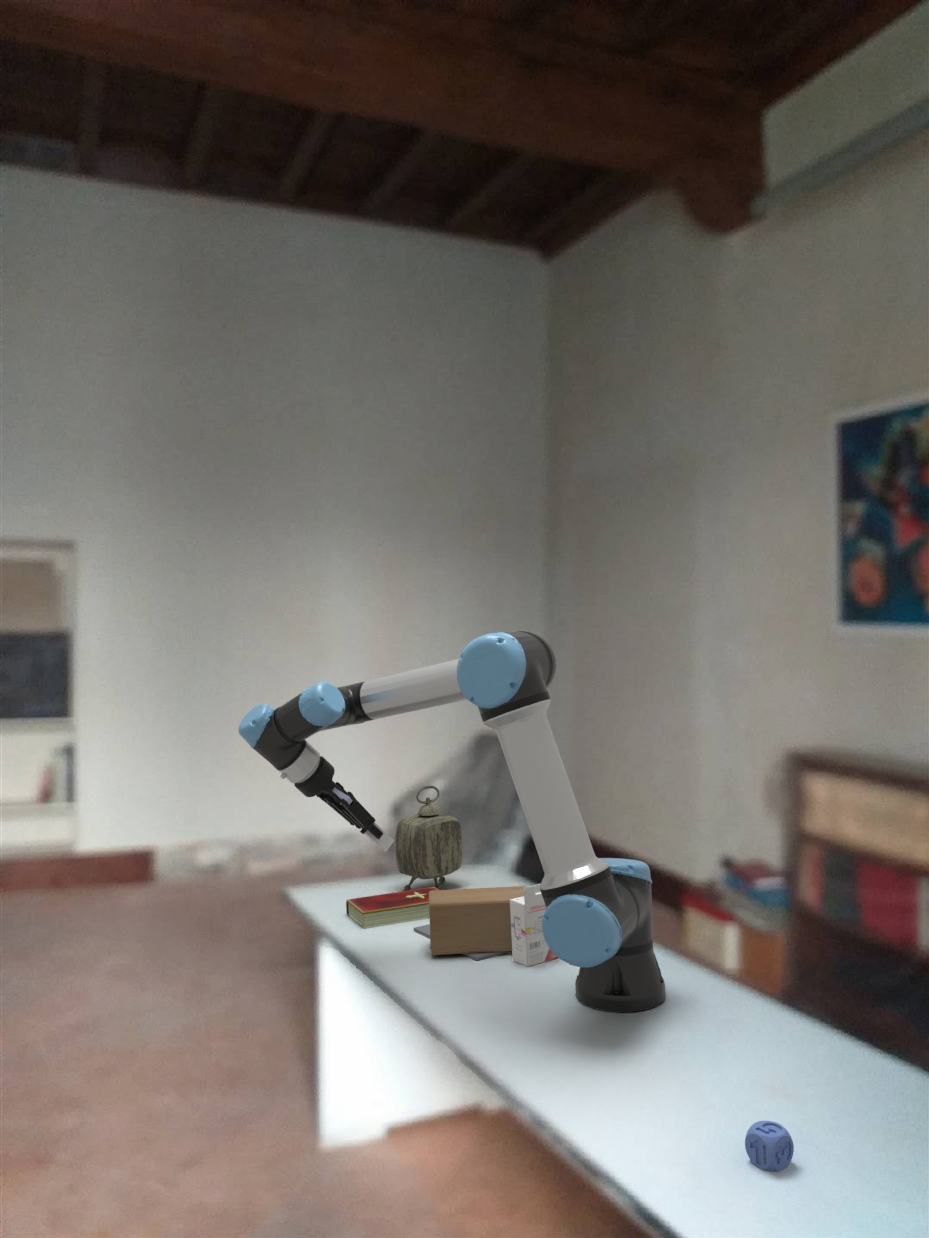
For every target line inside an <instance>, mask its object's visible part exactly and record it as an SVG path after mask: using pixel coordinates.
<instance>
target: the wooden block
mask: <svg viewBox="0 0 929 1238" xmlns="http://www.w3.org/2000/svg"><path fill="white" fill-rule="evenodd" d="M525 887H528V886H526V885H520V886H519V885H518V886H499V887H498V886H496V887H495V886H494V887H476V888H460V889H459V888H458V889H454V888H453V889H440V890H433V891H429V917H430V918H429V924H430V938H429V939H430V940H429V941H430V943H429V944H430V954H431V955H433V956H440V955H441V956H442V955H460V954H462V955H463V954H464V953H483V952H503V951H512V937H511V916H510V899H514V898H519V897H523V896H524V892H523V889H524V888H525Z"/></svg>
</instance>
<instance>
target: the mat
mask: <svg viewBox="0 0 929 1238" xmlns="http://www.w3.org/2000/svg"><path fill="white" fill-rule="evenodd" d="M413 931H414V932H416V933H418V934H420V935H422V936H424V937H427V938H428V939H430V923H429V924H425V925H424V924H423V925H419V926H416V927H415V926H414V927H413ZM509 953H512V951H503V952H483V953H464V954H462V955H463V956H466V957H468V958H470V959H472V960H474V961H476V962H477V961H481V960H482V961H483V960H486V959H490V958H493V957H498V956H502V955H505V954H509Z"/></svg>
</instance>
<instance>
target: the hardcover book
mask: <svg viewBox="0 0 929 1238" xmlns="http://www.w3.org/2000/svg"><path fill="white" fill-rule="evenodd" d="M433 890H439V889H437V888H436V887H434V886H429V887H423V888H415V889H411V890H408V891H405V890H403V891H396V892H389V893H382V894H375V895H370V896H369V895H367V896H362V897H356V898H347V899H346V902H345V909H346V915H347V914H349V915H350V916H351V919H353V920H354V921H355V920H356V921H357V922H358V925H360V926H361V927H362V928H364V929H368V928H370V929H371V928H375V927H381V926H388V925H394V924H395V925H396V924H400V923H407V922H413V921H418V920H424V919H430V917H429V891H433ZM349 915H348V916H349ZM350 916H349V917H350ZM356 921H355V922H356ZM357 922H356V923H357Z"/></svg>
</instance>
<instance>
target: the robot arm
mask: <svg viewBox="0 0 929 1238" xmlns="http://www.w3.org/2000/svg"><path fill="white" fill-rule="evenodd" d="M556 672H557V658H556V654H555V652H554V649H553V648H552V646H551V644H550V643H549V642H548V641H547V640H546V639H545V638H544V637H542V636H541V635H539V634H537V633H534V632H531V631H526V630H525V631H524V630H518V631H494V632H491V633H486V634H483V635H480V636H478V637H476V638H474V639H473V640H471V641H470V642H469V643H468V644H467V645H466V646H465V647H464V649H463V650H462V652H461V654H460V657H459V658H457V659H452V660H448V661H445V662H440V663H435V664H432V665H427V666H425V667H420V668H416V669H415V668H414V669H411V670H407V671H404V672H398V673H395V674H392V675H391V674H390V675H386V676H383V677H378V678H374V679H370V680H367V681H366V680H365V681H361V682H357V683H352V684H348V685H344V686H343V685H342V686H335V685H334V684H331V683H330V682H328V681H319V682H318V683H315V684H314V685H312V686H309V687H307V688H305V689H304V690H303V691H302V692H301V693H299V694H298V695H296V696H295V697H293V698H291V699H290V700H289V701H287V702H285V703H284V704H283V705H280V706H279V707H277V708H275V709H274V708H273V707H272V706H270V705H269V704H267V703H265V702H263V703H262V702H261V703H258V704H257V705H255V706H254V707H252V708H251V709H250V710H249V711H248V712H247V713H246V714H245V715H244V716H243V718H242V719H241V720H240V723H239V725H238V734H239V735H240V736H241V738H242V739H243V740H244V741H245V742H246V743H247V745H249V746H250V748H252V749H253V751H255V752H257V754H259V755H260V756H261V757H263V758H264V759H265V761H267V762H268V763H270V764H271V765H272V766H273V768H275V769H276V770H277V771H278V772H279V773H281V774H280V776H279V778H280V779H282V780H285V779H287V780H288V782H290V783H291V784H293V785H294V787H295V788H296V789H297V790H298V791H299V792H301V794H303V795H304V796H305V797H306V798H313V797H317V798H319V799H320V800H321V801H322V802H324V803H325V804H327V805H328V806H329V807H330V808H332V810H334V811H335V812H336V813H338V815H340V816H341V817H342V818H343V819H344V820H345V821H346V822H348V823H349V825H351V826H352V827H353V826H355V828H356V829H358V830H360V831H359V833H361V834H362V835H365V837H367V838H368V839H369V840H371V842H373V843H374V844H375V845H376V846H377V847H378V848H379V849H380V850H381V851H382V852H386V853H387V851H388V850H389V849H390V847H391V846H392V845H393V843H395V840H394V838H393V837H391V836H390V835H389V834H388V833H387V832H386V831H385V830H384V829H383V828H382V827H380V825H378V824H377V823H376V819H375V817H374V816H372V814H370V812H369V811H368V810H367V809H366V808H365V807H364V806H363V805H362V803H360V801H358V800H357V798H356V797H355V796H354V794H353V793H352V791H349V790H348V791H347V790H345V788H344V786H343V785H342V784H341V783H340V782H338V781H336V782H335V781H334V780H333V777H334V775H335V772H336V771H335V767H334V766H333V765H332V764H331V763H330V762H329V761H328V760H327V759H326V758H325V757H324V756H322V755H320V752H319V751H318V750H317V749H315V747H313V745H312V744H310V743H309V742H308V741H307V740H306V739H308V738H310V737H312V736H313V735H315V734H317V733H319V732H322V731H327V730H333V729H336V728H340V727H346V726H353V725H358V724H363V723H366V722H367V723H368V722H371V721H373V720H378V719H384V718H388V717H392V716H399V715H402V714H406V713H411V712H416V711H420V710H425V709H430V708H435V707H440V706H444V705H448V704H453V703H458V702H463V701H467V700H468V701H469V702H470V703H472V705H474V706H476V707H477V709H478V712H479V715H480V718H481V720H482V722H483V725H485V726H486V727H489V728H490V729H492V730H494V731H495V733H496V734H497V738H498V741H499V744H500V747H501V750H502V753H503V755H504V759H505V761H506V765H507V767H508V770H509V773H510V775H511V779H512V782H513V784H514V788H515V790H516V794H517V796H518V799H519V803H520V805H521V808H522V811H523V815H524V817H525V821H526V823H527V825H528V829H529V832H530V835H531V838H532V840H533V843H534V845H535V849H536V851H537V855H538V857H539V861H540V864H541V867H542V870H543V872H544V874H543V878H542V879H541V882H540V883H539V884H540V889H539V890H540V892H541V894H542V897H543V900H544V902H545V905H546V910H545V913H544V916H543V920H542V931H543V936H544V939H545V941H546V943H547V945H548V947H549V948H550V949H551V951H552V952H553V953H554V954H555V955H556V956H557V957H558V958H557V959H559V960H561V961H563V962H565V963H566V964H568V965H569V966H573V967H577V968H579V970H578V974H577V976H576V979H575V983H574V985H575V997H576V999H577V1000H578V1001H579V1002H580V1003H581V1004H583V1005H584V1006H588V1007H589V1008H593V1009H597V1010H602V1011H606V1012H613V1013H614V1012H615V1013H619V1012H620V1013H628V1012H629V1013H630V1012H631V1013H632V1012H640V1011H645V1010H649V1009H652V1008H655V1007H657V1006H659V1005H661V1004H662V1003H663V1002H664V1001H665V1000H666V996H667V995H666V983H665V979H664V977H663V976H662V971H661V968H660V966H659V962H658V960H657V957H656V954H655V951H654V950H655V949H654V937H653V936H654V932H653V929H654V928H653V900H652V884H653V879H652V878H651V870H650V869H651V868H650V867H649V865H648V864H647V863H646V862H644V861H641V860H637V859H632V858H631V859H629V858H620V857H619V858H618V857H617V858H616V857H615V858H614V857H597V856H596V853H595V850H594V848H593V845H592V842H591V840H590V837H589V834H588V831H587V829H586V825H585V823H584V820H583V816H582V813H581V810H580V809H579V808H580V807H579V805H578V802H577V799H576V796H575V794H574V791H573V788H572V786H571V783H570V782H571V781H570V779H569V776H568V773H567V770H566V768H565V765H564V761H563V760H562V756H561V754H560V751H559V748H558V745H557V742H556V740H555V737H554V734H553V733H554V732H553V731H552V727H551V725H550V722H549V720H548V716H547V711H548V709H549V707H550V704H551V702H552V699H551V697H550V693H549V692H548V688H549V687H550V685H551V684H552V683H553V680H554V678H555V676H556Z"/></svg>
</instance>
